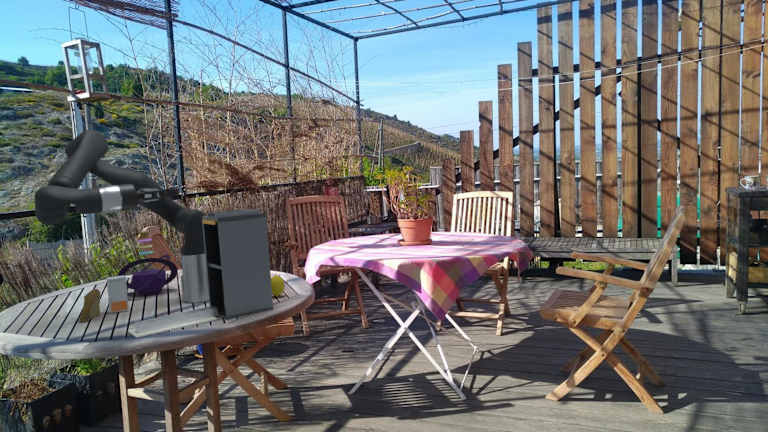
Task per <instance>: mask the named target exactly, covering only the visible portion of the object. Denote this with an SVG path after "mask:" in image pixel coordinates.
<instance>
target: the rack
mask: <svg viewBox="0 0 768 432" xmlns="http://www.w3.org/2000/svg"><path fill="white" fill-rule="evenodd" d="M267 223H268V222H267V213H266V212H261V210H260V208H255V209H252V208H243V209H241V208H240V209H235V210H234V209H231V210H222V211H213V212H212V211H211V212H207V213H206V216H202V225H203V236H204V248H205V260H206V271H207V283H208V295H209V300H208V301H209V302H208V305H209V306H214V307H217V308H218V315H217V316H219V317H220V318H223V319H225V320H230V319H235V318H240V317H244V316H248V315H253V314H256V313H257V314H258V313H261V312H266V311H270V310H274V302H273V301H274V300H273V294H272V287H271V278H272V275H271V262H270V252H269V237H268V224H267ZM209 306H208V307H209Z"/></svg>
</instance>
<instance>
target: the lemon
mask: <svg viewBox="0 0 768 432" xmlns="http://www.w3.org/2000/svg"><path fill="white" fill-rule="evenodd" d="M271 287H272V296H275V297H276V298H278V297H280V295H281V294H282V295H283V292H284V291H285V283H284V279H283V277H282V276H281V277H280V275H277V274H276V275H274V276H271Z"/></svg>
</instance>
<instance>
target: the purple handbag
mask: <svg viewBox="0 0 768 432" xmlns="http://www.w3.org/2000/svg"><path fill="white" fill-rule="evenodd" d="M138 234H139V238H140V239H138V240H137V242H138V243H140V244H142V245H138V247H137V248H138V249H140V250H141V251H139V252H138V254H139V255H140V256H148V255H153V253H154V250H148V249H151V248H153V247H154V246H153V244H145V243H151V242H152V241H153V239H152V238H149V234H150V232H149V230H142V231H139V232H138ZM164 258H165V259H164ZM170 259H171V254H163V255H162V256H160V257H149V258H141V259H137V260H134V261H131V262H129V263H127V264H126V265H124V266H123V267H122V268H121V269H120V270H119V271H118V274H117V276H124V275H125V276H126V274H127V272H128V271H129V270H130V269H132V268H134V267H135V266H137V265H141V264H144V263H145V264H148V265H146V266H145V267H144V268H143V269H141V270H139V271H134V272H133V271H132V276H131V275H130V276H131V279H130V282H128V281H127V280H126V285H127V297H131V296H133V295H135V294H136V293H137V294H138V295H139V296H152V295H157V294H159V293H160V292H161V291H162V289H164V287H165V286H166V285H168V284H170V283H172V281H174V279H175V278H176V277H177V275H178V273H179V272H178V271H179V269H178V267H177V265H176V264H175V263H174V262H172V261H170ZM154 263H158V264H163V266H162V267H161V268H160V269H153V268H152V269H148V268H149V267H152V266H151V265H154ZM166 266H167V267H168V268H169V270H170V275H169V276H168V277H167V273H166V270H165V267H166ZM129 289H130V290H133V292H128V291H129Z"/></svg>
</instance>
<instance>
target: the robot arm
mask: <svg viewBox="0 0 768 432" xmlns="http://www.w3.org/2000/svg"><path fill="white" fill-rule="evenodd" d="M109 146H110V145H109V142H108V140H107V138H106V137H105V136H104V135H103V134H102V133H101V132H99V131H97V130H95V129H86V130H84V131H82V132H81V133H79V134H78V135H77V136H75V137H74V138H73V139H72V140H71V141H70V142H69V143H67V145H66V146H65V147H64V153H65V155H66V156H67V157H68V158H67V159H66V161H65V162H63V163H62V164H61V166H60V167H59V168H58V169H57V170H56V171H55V172H54V174H53V176H52V177H51V179H50V180H49V182H48V183H47V185H46V186H42V187H40V188H38V189H37V190H36V191H35V193H34V208H35V209H34V213H35V214H34V215H35V218H36V219H37V221H39V222H40V223H41V224H44V225H47V226H53V225H57V224H59V223H60V222H62V221H64V220H65V218H66V217H67V215H68V212H69V210H70V207H71V204H72V205H74V207H75V210H76V211H77V213H79V214H80V215H92V214H99V213H117V212H122V211H130V210H135V209H137V207H138V204H139V205H141V206H142V207H144V208H146V209H147V210H149V211H150V212H152V213H154V214H155V215H157V216H159V217H161V219H163V220H164V221H165V222H167V223H168V224H169V225H170V226H171V227H172V228H174V230H176V231H177V232H178V233H180V234H182V235H184V243H183V245H182V246H181V247H180V258H181V269H182V274H181V275H180V283H181V285H180V286H181V297H182V302H185V303H189V304H195V303H203V302H207V301H209V295H208V283H207V271H206V260H205V248H204V236H203V225H202V216H207V214H205V213H204V212H203V211H201V210H200V209H188V208H186V207H184V206H183V205H181V204H179V203H177V202H176V201H175V200H173V199H172V197H179V196H180V190H179V188H172V189H169V188H163V187H162V186H161V185H160V184H159V183H158V182H156V181H155V179H152V178H151V177H150V176H149V175H147V174H146V173H144V172H142V171H139V170H135V169H132V168H124V167H119V166H115V165H112V164H111V163H108V162H106V161H105V160H103V159H102V158H103V157H104V156H106V154H107V153H108V151H109V148H110V147H109ZM88 173H90V174H91V175H92V174H93V175H94V176H96V177H97V178H99V179H101V180H103V181H105V182H106V183H108V184H109V185H104V186H100V187H91V188H80V186H81V184H82V183H83V181H84V180H85V178H86V176H87V175H88Z"/></svg>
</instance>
